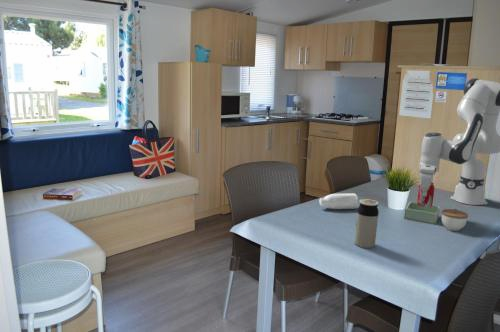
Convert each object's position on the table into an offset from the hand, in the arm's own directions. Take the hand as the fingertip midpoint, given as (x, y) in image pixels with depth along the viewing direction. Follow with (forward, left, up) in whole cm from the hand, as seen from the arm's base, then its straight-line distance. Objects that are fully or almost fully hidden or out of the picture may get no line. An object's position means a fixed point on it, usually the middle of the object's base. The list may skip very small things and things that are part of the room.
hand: (425, 194), depth 203 cm
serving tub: (0, 0, -12) cm, 12 cm away
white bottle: (+12, -39, -12) cm, 42 cm away
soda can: (-1, 0, -6) cm, 6 cm away
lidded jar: (+9, +14, -12) cm, 21 cm away
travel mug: (+52, -16, -12) cm, 56 cm away
